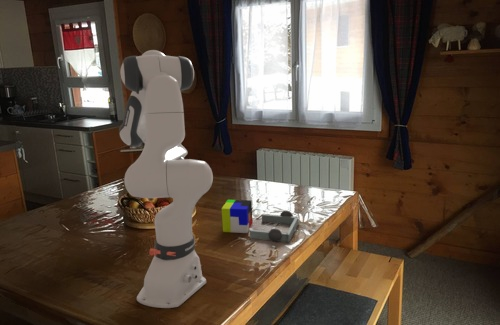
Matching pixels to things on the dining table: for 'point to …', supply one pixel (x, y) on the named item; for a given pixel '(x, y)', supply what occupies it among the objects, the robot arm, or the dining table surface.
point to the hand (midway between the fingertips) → (183, 169)
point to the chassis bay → (275, 233)
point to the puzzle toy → (237, 216)
